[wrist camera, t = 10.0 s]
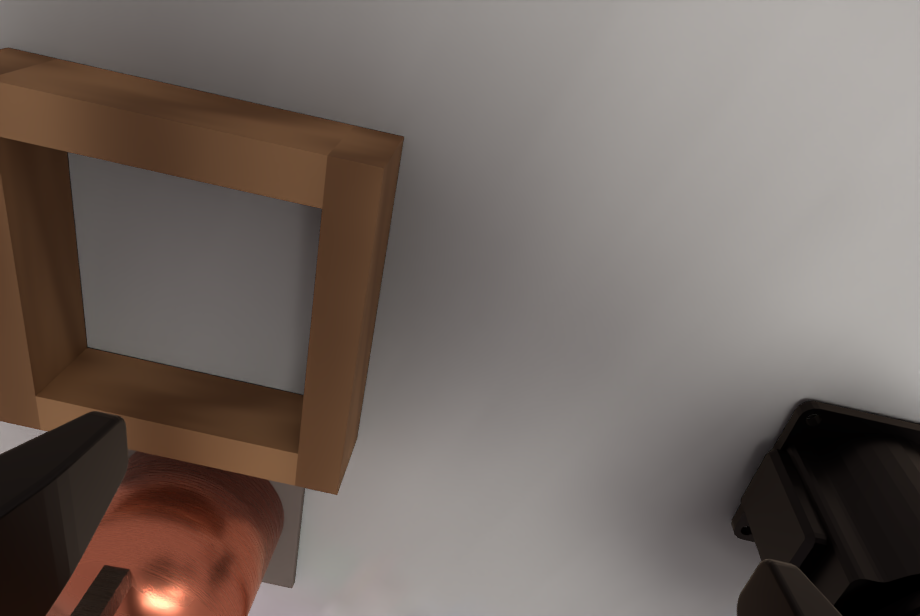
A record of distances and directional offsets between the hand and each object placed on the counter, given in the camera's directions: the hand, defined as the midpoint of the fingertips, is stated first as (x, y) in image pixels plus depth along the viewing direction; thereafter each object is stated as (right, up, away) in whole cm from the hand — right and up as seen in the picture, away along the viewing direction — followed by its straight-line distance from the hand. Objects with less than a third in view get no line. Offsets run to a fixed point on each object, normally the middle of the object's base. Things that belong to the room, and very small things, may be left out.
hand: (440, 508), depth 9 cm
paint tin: (-11, -5, +19) cm, 22 cm away
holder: (-8, +4, +14) cm, 17 cm away
